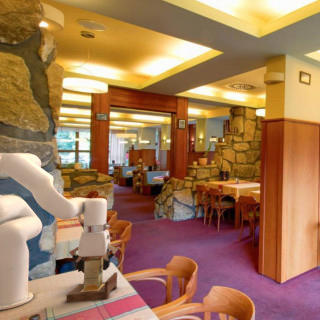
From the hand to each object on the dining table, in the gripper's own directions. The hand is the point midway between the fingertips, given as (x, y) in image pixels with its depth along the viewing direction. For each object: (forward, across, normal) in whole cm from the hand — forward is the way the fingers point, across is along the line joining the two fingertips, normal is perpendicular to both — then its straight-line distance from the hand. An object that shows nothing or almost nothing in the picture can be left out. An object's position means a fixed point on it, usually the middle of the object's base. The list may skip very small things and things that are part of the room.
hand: (93, 269), depth 118 cm
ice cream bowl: (+11, +4, -12) cm, 17 cm away
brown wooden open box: (+10, 0, 0) cm, 10 cm away
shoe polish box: (+8, 0, 0) cm, 8 cm away
